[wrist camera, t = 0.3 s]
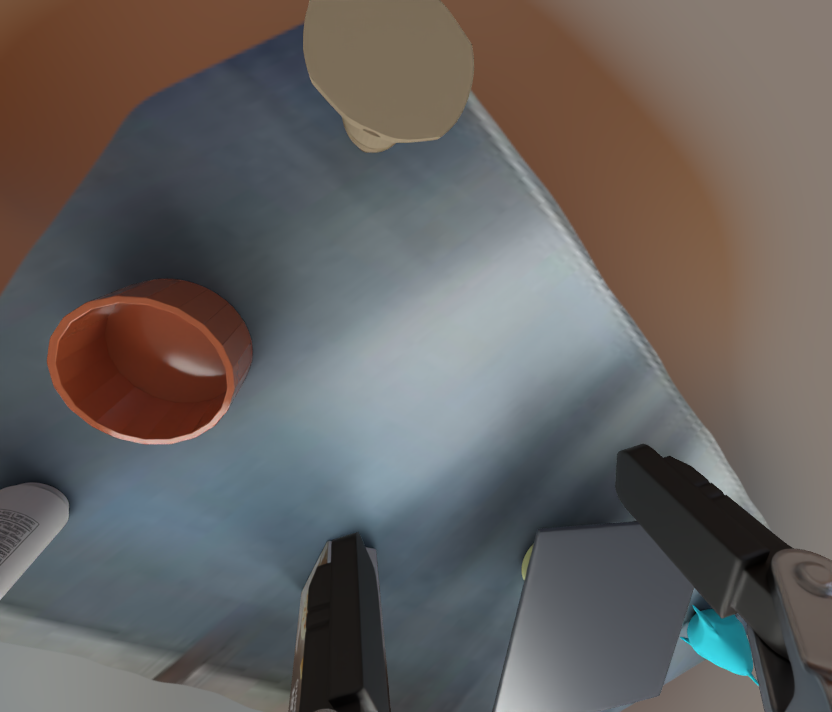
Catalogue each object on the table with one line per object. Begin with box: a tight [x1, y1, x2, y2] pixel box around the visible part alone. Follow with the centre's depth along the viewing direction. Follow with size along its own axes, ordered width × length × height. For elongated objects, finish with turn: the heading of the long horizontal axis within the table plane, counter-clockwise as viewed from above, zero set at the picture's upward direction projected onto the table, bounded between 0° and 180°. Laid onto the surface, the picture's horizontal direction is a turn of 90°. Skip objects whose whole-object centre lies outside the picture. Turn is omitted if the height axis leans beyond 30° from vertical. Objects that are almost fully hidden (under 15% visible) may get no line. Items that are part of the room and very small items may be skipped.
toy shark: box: [680, 605, 759, 686], centre depth 58 cm, size 10×18×11 cm, turn 38°
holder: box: [47, 278, 253, 444], centre depth 28 cm, size 11×11×6 cm
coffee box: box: [288, 541, 391, 712], centre depth 37 cm, size 9×6×16 cm
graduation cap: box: [492, 521, 694, 712], centre depth 46 cm, size 28×23×10 cm
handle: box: [303, 0, 474, 152], centre depth 21 cm, size 5×6×15 cm
